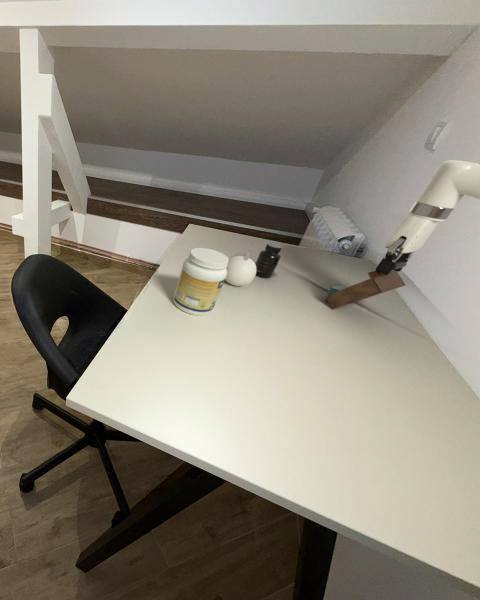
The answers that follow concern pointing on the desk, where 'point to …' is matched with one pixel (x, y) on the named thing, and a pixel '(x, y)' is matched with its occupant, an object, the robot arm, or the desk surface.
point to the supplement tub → (200, 281)
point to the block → (335, 289)
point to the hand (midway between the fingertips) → (387, 270)
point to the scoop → (367, 287)
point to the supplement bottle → (268, 260)
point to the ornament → (240, 270)
